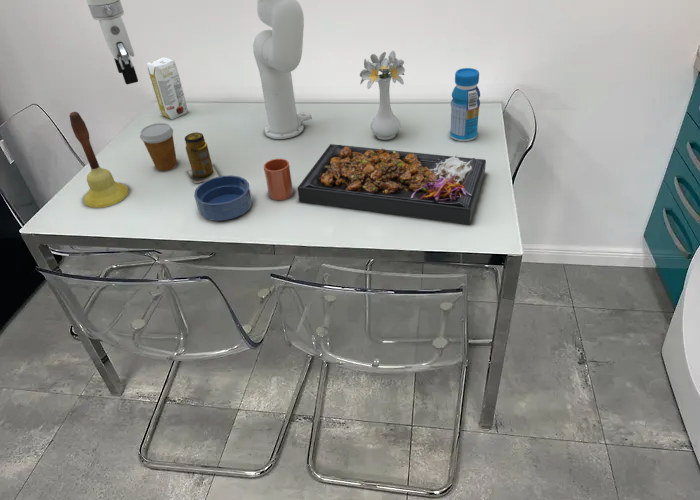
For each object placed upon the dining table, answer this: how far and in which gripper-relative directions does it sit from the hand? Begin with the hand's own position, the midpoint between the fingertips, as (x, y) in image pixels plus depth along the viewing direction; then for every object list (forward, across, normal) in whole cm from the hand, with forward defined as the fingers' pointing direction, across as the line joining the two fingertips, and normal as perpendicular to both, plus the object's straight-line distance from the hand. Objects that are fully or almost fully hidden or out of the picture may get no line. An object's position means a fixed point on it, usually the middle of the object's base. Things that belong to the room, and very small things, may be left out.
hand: (128, 77), depth 149 cm
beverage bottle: (+30, -33, -86) cm, 97 cm away
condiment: (+30, -8, -11) cm, 33 cm away
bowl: (+30, -29, -11) cm, 43 cm away
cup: (+30, -31, -26) cm, 50 cm away
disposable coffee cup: (+30, +4, -3) cm, 30 cm away
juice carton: (+30, +40, -15) cm, 52 cm away
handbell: (+30, -3, +16) cm, 34 cm away
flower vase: (+30, -18, -67) cm, 76 cm away
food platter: (+30, -46, -53) cm, 76 cm away
